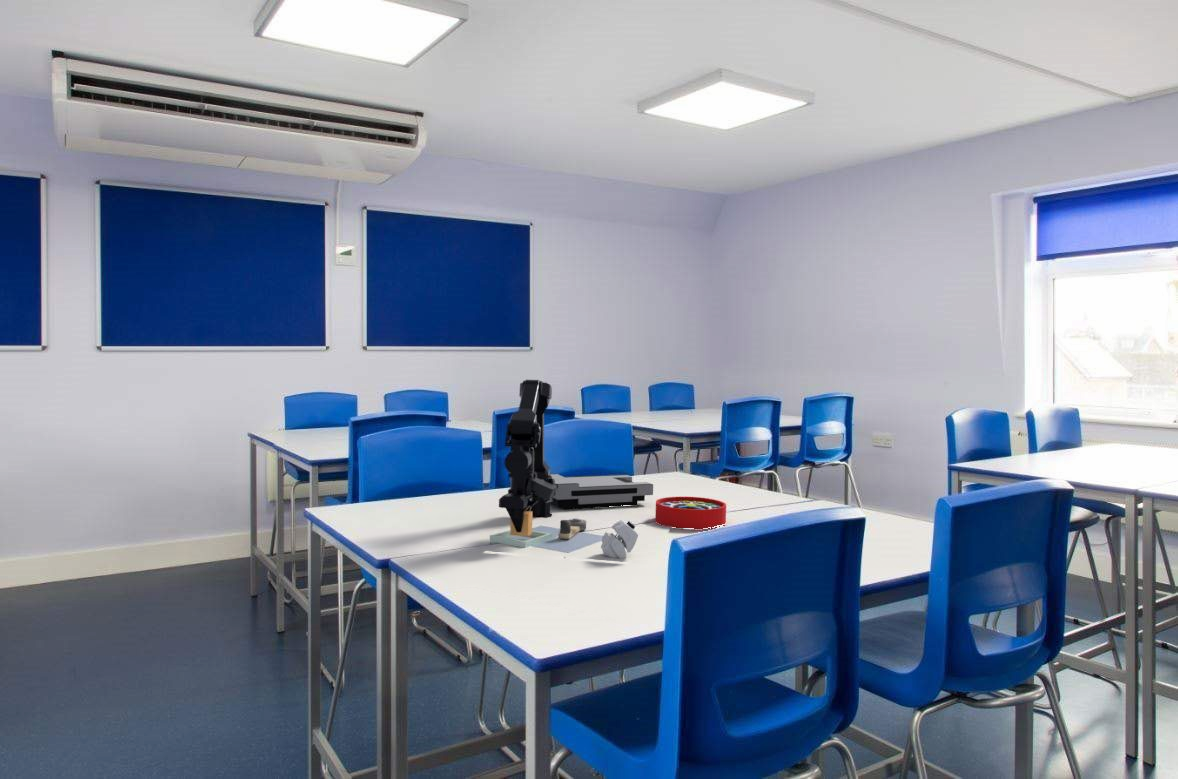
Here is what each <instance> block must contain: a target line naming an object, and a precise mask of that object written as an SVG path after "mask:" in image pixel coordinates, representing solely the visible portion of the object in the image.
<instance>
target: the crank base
mask: <svg viewBox="0 0 1178 779" xmlns="http://www.w3.org/2000/svg"><path fill="white" fill-rule="evenodd" d="M532 531H538V532H544V533H550V534H552V539H550V540H547V541H544V542H541V543H538V544H535V545H532V546H531V547H534V548H539V549H544V550H550V551H555V552H556V551H557V552H561V553H567V554H570V553H572V552H575V551H577V550H581V549H583V548H586V547H588V546H591V545H594V544H596V543H600V542H602V537H603V535H601V534H595V533H594V534H593V533H589V532H588V533H587V532H582V531H578V532H577V533H576V534H575V535H574V536H572V537H571V538H570V539H562V538H558V533H560V527H559V528H558V527H552V526H547V525H539V526H534V527H532ZM506 538H511V539H517V540H522V541H527V540H530V539H533V538H536V537H532V536H518V535H512V536H508V537H506Z"/></svg>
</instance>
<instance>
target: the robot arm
mask: <svg viewBox="0 0 1178 779" xmlns="http://www.w3.org/2000/svg"><path fill="white" fill-rule="evenodd" d="M552 388H553V387H552V385H551V384H550V383H548V382H545V381H542V380H540V379H525V380H523V382H520V383H519V394H518V395H519V397H520V402H519V406H518V410H517V411H516V412H513V414H512V415H511V417H510V420H509V421H508V422H507V425H506V433H505V440H504V447H507V448H509V447H510V452H508V453H507V454H506V456H505V458H504V462H503V463H504V467H505V469H506V470H507V472H508V477H507V478H510V488H508V489H507V493H506V494H504V495H501V497H500V498H499V499H498V508H499V509H505V510H506V512H507V513H508V516H509V518H510V521H511V520H512V522H513V525H514V527H515V529H516V531H517V532H521V530H522V525H523V519H524V513H525V511H533V515H532V518H538V519H539V518H541V519H545V518H548V517H551V516H553V513H551V502H550V501H549V500H550V499H552V498H553V496H554V493H555V491H556V490H557V489H556V488H557V487H556V486H557V485H555V479H553V478H552V476H550V474H551V468H550V466H549V464H548V463H547V462H546V461H545V412H546V411H547V409H548V408H549V405H550V400H552V396H553V389H552Z"/></svg>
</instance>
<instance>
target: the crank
mask: <svg viewBox="0 0 1178 779" xmlns="http://www.w3.org/2000/svg"><path fill="white" fill-rule="evenodd" d="M559 529H560V533H558V538H562V539H570V538H571V537H572V536H574V535H575V534H576V533H577V532H581V531H585V530H586V529H587V520H586V519H582V518H576V517H575V518H571V519H561V520H560V522H559Z"/></svg>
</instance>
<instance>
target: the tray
mask: <svg viewBox="0 0 1178 779" xmlns="http://www.w3.org/2000/svg"><path fill="white" fill-rule="evenodd" d="M508 536H512V535H510V529H507V530H504V531H502V532H498V533H495V534H491V535H489V544H492V545H494V544H495V543H498V544H499V543H500V544H504V545H510V546H515V547H520V548H529V547H533V546H532V545H535V544H538V543H541V542H544V541H547V540H550V539H552V534H550V533H544V532H538V531H532V534H530V535H529V536H532V537H536V538H533V539H530V540H527V541H522V540H517V539H511V538H506V537H508Z"/></svg>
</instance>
